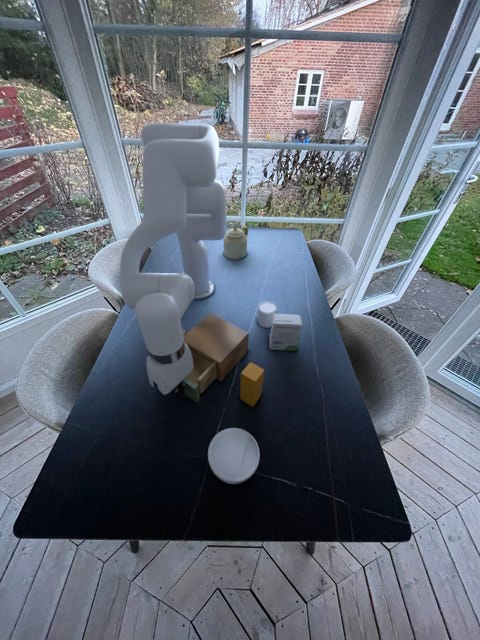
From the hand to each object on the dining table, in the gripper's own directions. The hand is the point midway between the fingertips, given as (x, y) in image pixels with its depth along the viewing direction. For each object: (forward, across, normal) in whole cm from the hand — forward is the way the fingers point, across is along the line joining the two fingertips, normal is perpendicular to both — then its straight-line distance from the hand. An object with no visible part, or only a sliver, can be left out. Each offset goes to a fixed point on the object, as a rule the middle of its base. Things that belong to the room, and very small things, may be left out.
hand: (179, 394), depth 68 cm
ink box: (+5, -35, +12) cm, 37 cm away
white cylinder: (+5, -41, +2) cm, 41 cm away
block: (+5, -13, +14) cm, 19 cm away
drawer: (+4, -8, -3) cm, 9 cm away
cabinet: (+5, -19, -3) cm, 19 cm away
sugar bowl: (+5, -74, -36) cm, 83 cm away
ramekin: (+5, +3, +20) cm, 21 cm away
